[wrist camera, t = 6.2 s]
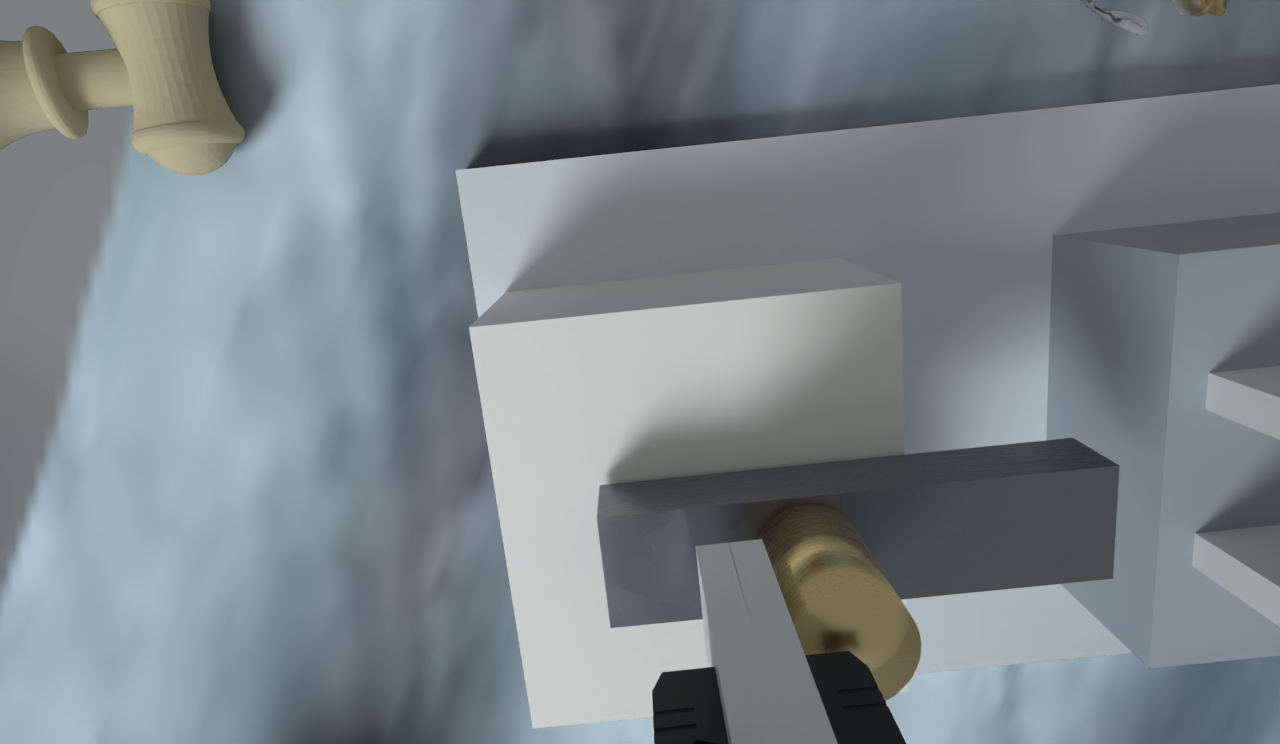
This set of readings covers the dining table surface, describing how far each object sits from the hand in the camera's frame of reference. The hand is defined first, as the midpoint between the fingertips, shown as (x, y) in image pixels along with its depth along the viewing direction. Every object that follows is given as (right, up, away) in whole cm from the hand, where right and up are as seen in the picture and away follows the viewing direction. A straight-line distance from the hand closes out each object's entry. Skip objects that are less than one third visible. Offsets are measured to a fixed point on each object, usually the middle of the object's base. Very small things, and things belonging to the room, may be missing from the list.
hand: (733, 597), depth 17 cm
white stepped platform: (+8, +4, +11) cm, 14 cm away
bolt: (+3, +1, +3) cm, 5 cm away
